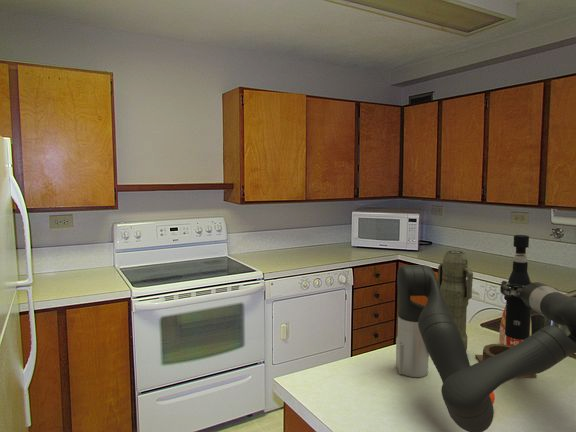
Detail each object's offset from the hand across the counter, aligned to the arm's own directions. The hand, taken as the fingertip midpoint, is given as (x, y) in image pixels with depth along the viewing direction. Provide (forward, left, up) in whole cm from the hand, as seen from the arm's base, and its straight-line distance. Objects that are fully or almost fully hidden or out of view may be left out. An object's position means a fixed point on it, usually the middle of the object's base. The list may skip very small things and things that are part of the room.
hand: (515, 284), depth 123 cm
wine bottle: (0, -3, -15) cm, 15 cm away
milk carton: (+9, +18, -28) cm, 34 cm away
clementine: (-17, -20, -28) cm, 38 cm away
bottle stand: (-1, +3, -28) cm, 28 cm away
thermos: (-14, +12, -28) cm, 33 cm away
